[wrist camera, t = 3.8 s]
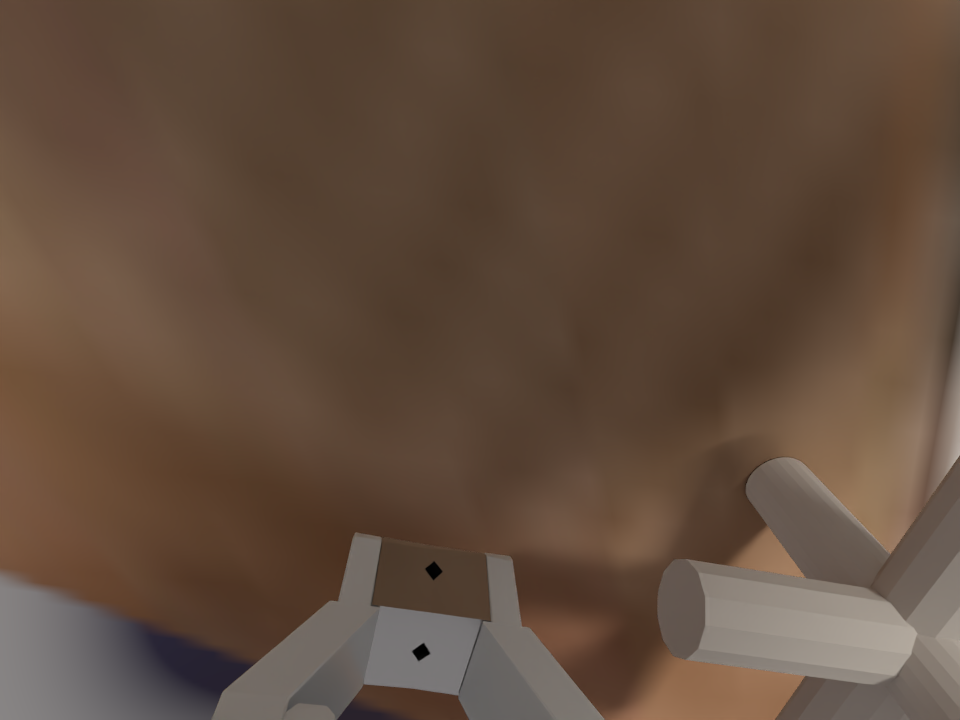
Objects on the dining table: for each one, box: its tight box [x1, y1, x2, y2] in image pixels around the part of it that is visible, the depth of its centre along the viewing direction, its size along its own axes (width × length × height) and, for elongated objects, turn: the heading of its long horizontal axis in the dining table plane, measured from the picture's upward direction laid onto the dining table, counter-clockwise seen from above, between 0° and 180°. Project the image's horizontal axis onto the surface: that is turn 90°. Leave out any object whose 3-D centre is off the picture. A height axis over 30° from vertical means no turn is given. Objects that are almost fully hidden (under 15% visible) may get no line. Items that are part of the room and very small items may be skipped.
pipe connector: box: [657, 456, 960, 720], centre depth 12 cm, size 10×10×10 cm
